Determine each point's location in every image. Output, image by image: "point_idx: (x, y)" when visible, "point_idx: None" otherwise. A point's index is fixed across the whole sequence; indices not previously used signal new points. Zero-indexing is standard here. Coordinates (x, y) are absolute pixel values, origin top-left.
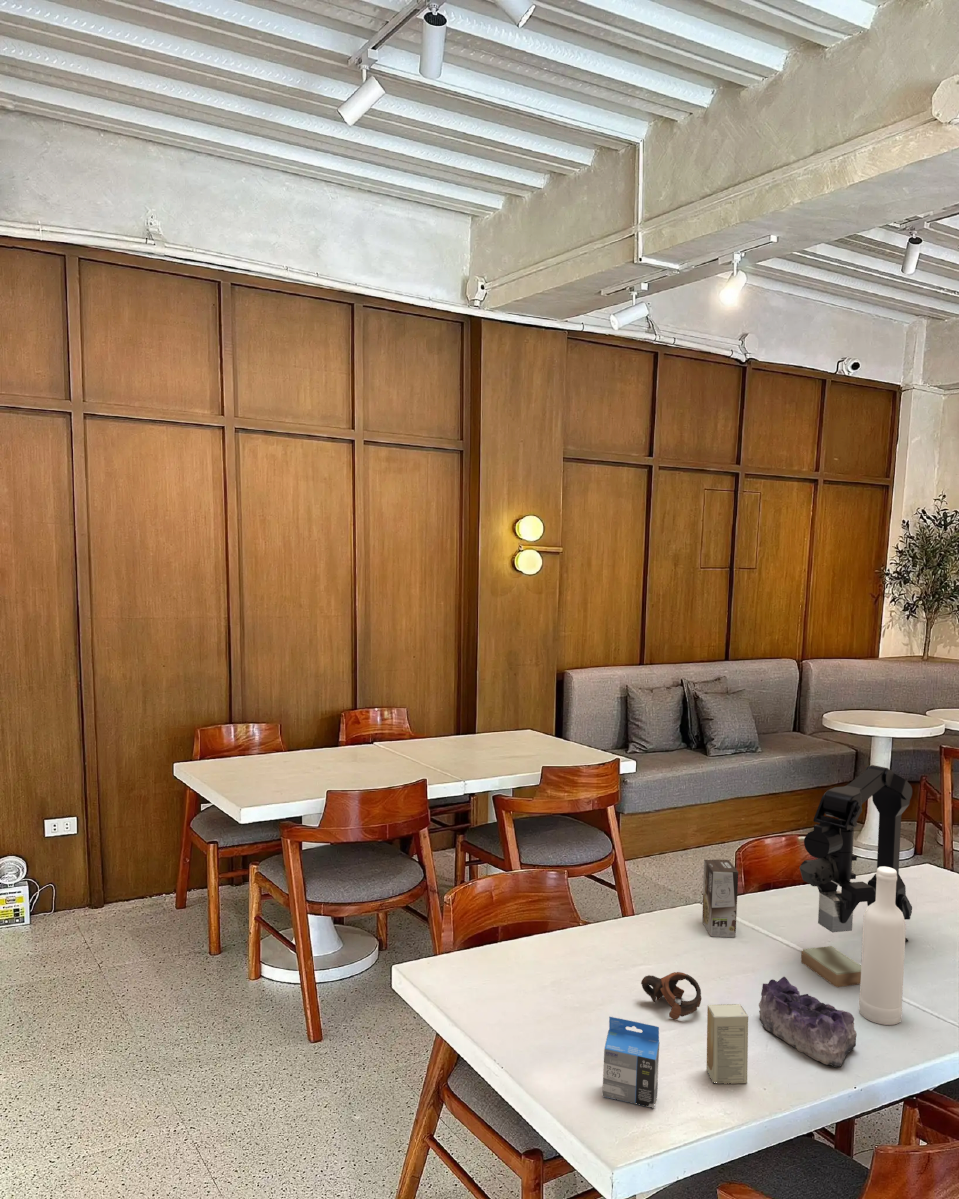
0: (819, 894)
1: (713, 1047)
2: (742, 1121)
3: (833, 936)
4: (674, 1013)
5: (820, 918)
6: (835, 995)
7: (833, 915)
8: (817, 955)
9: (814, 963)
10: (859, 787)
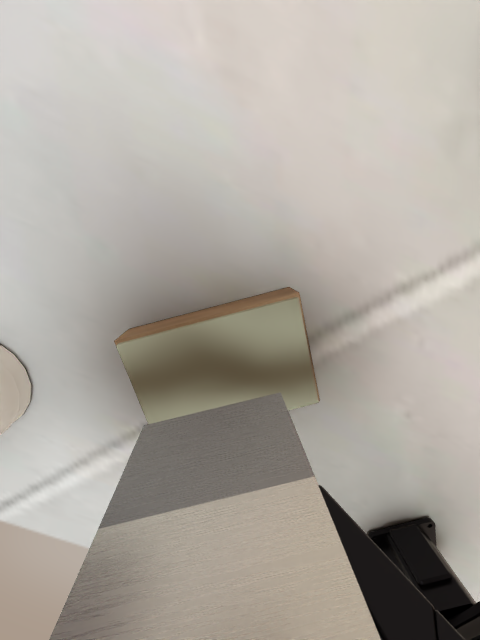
0: None
1: None
2: None
3: (432, 436)
4: None
5: (266, 423)
6: (77, 307)
7: (91, 545)
8: (249, 331)
9: (226, 308)
10: None
